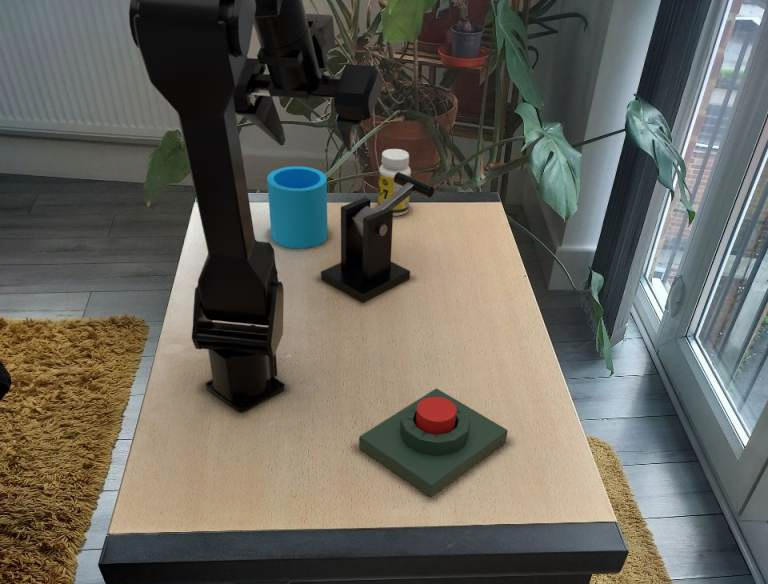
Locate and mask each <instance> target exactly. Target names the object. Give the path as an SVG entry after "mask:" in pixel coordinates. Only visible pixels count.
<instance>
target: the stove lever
mask: <svg viewBox="0 0 768 584" xmlns="http://www.w3.org/2000/svg"><path fill="white" fill-rule="evenodd" d="M394 182H395V183H396V184H399V185H401V186H403V187H401V188H400V189H399V190H398V191H396V192H395V193H394V194H392V195H391V196H390V197H389V198H387V199H386V200H385V201H384V202H382V203H381V204H380V205H378V204H377V206H375V208H373V207H371V206H370V207H368V206H366V207H364V208H363V209H362V210H360V211H359V212H358V213H357V214H355V215H354V216H353V217H352V221H353V226H354V231H355V233H356V234H358V235H360V236H362V237H363V218H364V217H367V216H369V215H371V214H374V213H376V212H378V211H381V210H383V209H385V208H390V209H393V208H395V207H396V206H397V205H398V204H400V203H401V202H402V201H403V200H405V199H406V198H407V197H408V196H409V197H410V196H411V195H413V193H417V194H419V195H421V196H424V197H426V198H428V199H429V198H432V197H433V196H434V194H435V187H434V186H433V185H431V184H428V183H426V182H423V181H421V180H419V179H416V178H414V177H412V176H411V177H410V176H407V175H405V174H403V173H400V172H397V173H396V174H395V176H394Z"/></svg>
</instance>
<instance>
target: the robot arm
mask: <svg viewBox="0 0 768 584" xmlns="http://www.w3.org/2000/svg"><path fill="white" fill-rule="evenodd" d="M128 16H129V17H128V19H129V20H128V21H129V28H130V29H129V30H130V33H131V37H132V40H133V43H134V45H135V46H136V47H137V48H138V49H139V52H140V55H141V58H142V59H141V60H142V61H143V65H144V68H145V72H146V75H147V78H148V80H149V82H150V83H151V85H152V86H153V87H154V88H155V89H156V90H157V91H158V93H159V94H160V95H161V96H162V97H163V98H164V99H165V100H166V102H167V103H168V104H169V105H170V106H171V107H172V108H173V110H175V111H176V113H177V117H178V120H179V125H180V129H181V134H182V139H183V140H182V141H183V143H184V144H183V145H184V149H185V153H186V157H187V161H188V168H189V171H190V176H191V180H192V186H193V189H194V194H195V198H196V203H197V208H198V212H199V217H200V223H201V226H202V231H203V235H204V240H205V245H206V250H207V256H206V258H205V261H204V263H203V265H202V269H201V271H200V274H199V277H198V279H197V285H196V287H195V288H194V298H193V314H192V330H191V340H192V343H193V345H194V348H195V350H207V352H208V359H209V365H210V371H211V379H210V380H208V381H205V389H206V390H208V391H209V392H210V393H212V394H213V395H215V397H217V398H219V399H220V400H221V401H223V402H224V403H226V404H227V405H229V406H230V407H231V408H233V409H234V410H236V411H237V412H239V413H244V412H246V411H248V410H250V409H251V408H253V407H255V406H257V405H259V404H261V403H262V402H264V401H266V400H268V399H270V398H271V397H273V396H275V395H278V394H279V393H281V392H282V391H284V390H285V389H286V385H285V383H284V382H283V381H281V380H279V379H278V378H276V377H278V374H279V373H278V361H277V350H278V347H279V346H280V342H281V340H282V338H283V335H284V302H285V298H284V297H285V291H284V284H283V282H282V281H279V277H278V275H279V274H278V269H277V265H276V253H275V248H274V247H273V245H272V243H270V242H269V241H261V240H260V241H259V240H257V239H256V237H255V230H254V223H253V217H252V210H251V205H250V204H251V203H250V197H249V192H248V191H249V190H248V184H247V179H246V178H247V177H246V172H245V166H244V159H243V152H242V145H241V139H240V133H239V127H238V119H237V116H242V117H244V118H245V119H246V120H247V121H250V123H251V124H253V125H255V126H256V127H258V129H260V130H261V131H262V132H263V133H265V134H266V135H268V136H269V138H270V139H272V140H273V141H274V142H276V143H277V144H278V145H279V146H284V144H285V142H286V135H285V130H284V128H283V124H282V122H281V117H280V115H279V112H278V110H277V107H276V104H275V102H274V99H273V98H274V97H277V98H289V99H304V100H310V97H322V98H332V99H333V98H334V99H333V106H334V110H335V114H336V115H337V117H336V120H335V122H336V125H337V128H338V130H339V133H340V136H341V140H342V142H343V145H344V147H345V150H346V151H347V152H348V153H349V152H350V153H351V152H352V150H353V148H354V144H355V138H356V137H355V136H356V131H357V126H358V125H360V124H362V122H365V121H367V120H369V119H371V118H372V115H373V113H374V111H375V107H376V105H377V103H378V100H379V97H380V95H381V91H382V89H383V86H384V84H383V78H382V72H381V71H380V70H379V68H378V67H377V66H374V65H364V64H363V65H362V64H349V63H348V64H347V63H346V64H345V66H344V68H343V71H342V73H341V75H340V76H339V75H338V76H337V75H326V74H325V75H324V74H322V72H321V71H322V69H326V68H327V67H328V64H329V62H330V60H329V57H328V53H329V52H330V51H331V50H332V49H333V50H334V49H335V48H336V38H335V37H336V36H335V23H334V16H333V15H330V14H319V13H317V14H316V13H307V12H306V8H305V4H304V1H303V0H130V2H129V9H128ZM253 29H254V31H255V34H256V37H257V41H258V44H259V46H260V48H259V50H258V52H257V54H256V57H257V58H252V57H248V54H249V51H250V46H251V40H252V35H253ZM266 70H267V71H268V73H265V72H266Z"/></svg>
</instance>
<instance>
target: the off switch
mask: <svg viewBox="0 0 768 584" xmlns="http://www.w3.org/2000/svg"><path fill="white" fill-rule="evenodd" d="M429 397H441V398H445V399H448V400H450V401H451V402H452V403H453V404H454V405H455V406H456V409H457V413H456V421H455V426H454V428H453V429H452V430H451V431H450V432H448V433H444V434H438V435H436V434H430V433H425V432H424V431H422V430H421V429H419V428H418V426H417V424H416V413H417V405H418V404H419V402H420V401H422V400H423V399H426V398H429ZM508 431H509V429H507V428H505V427H503V426H502V425H500V424H498V423H496V422H495V421H493V420H492V419H490V418H488V417H487V416H485V415H483V414H481V413H480V412H478V411H476V410H475V409H473V408H471V407H469V406H468V405H466V404H464V403H463V402H461V401H459V400H457V399H456V398H454V397H452V396H451V395H449V394H447V393H446V392H443V391H442V390H440V389H438V388H435V389H433V390H431V391H430V392H428V393H426V394H425V395H422V397H420V398H418V399H417V400H415V401H414V402H412V403H410V404H409V405H407V406H406V407H404V408H403V409H401V410H399V411H398V412H396V413H394V414H393V415H391V416H390V417H388V418H386V419H385V420H383V421H382V422H379V423H378V424H377V425H376V426H374V427H372V428H371V429H369V430H367V431H366V432H364V433H363V434H361V435H359V437H358V449H359V450H360V451H361V452H364V454H366V455H368V456H369V457H370V458H372V459H374V460H375V461H376V462H377V463H379V464H381V465H382V466H384V467H385V468H386V469H388V470H389V471H391V472H393V473H394V474H395V475H397V476H399V477H400V478H401V479H403V480H404V481H406V483H409V484H410V485H412V486H413V487H415V488H416V489H418V490H419V491H420V492H422V493H423V494H425V495H426V496H428V497H430V498H431V497H433V496H435V495H436V494H437V493H438V492H440V491H442V490H443V489H445V487H447V486H448V485H449V484H451V483H452V482H453V481H455V480H456V479H458V478H459V477H461V476H462V475H463V474H465V473H466V472H467V471H469V470H470V469H471V468H473V467H474V466H475V465H477V464H478V463H479V462H481V461H482V460H483V459H485V458H487V456H489V455H490V454H492V453H493V452H495V451H496V450H497V449H498V448H500V447H502V446H503V445H504V444H505V443H506V442H507V436H508Z"/></svg>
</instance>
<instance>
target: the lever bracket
mask: <svg viewBox="0 0 768 584" xmlns="http://www.w3.org/2000/svg"><path fill="white" fill-rule="evenodd" d="M371 201H372V200H371V198H368V197H366V196H365V197H362V198H360V199H359V198H358V199H357V200H354V201H352V202H350V203H348V204H345V205H342V206H340V262H339V263H337V264H335V265H333V266H330V267H328V268H325V269H324V270H322V271H320V280H321V281H323V282H324V283H327V284H329V285H330V286H332V287H333V288H335V289H337V290H339V291H341V292H343V293H345V294H346V295H348V296H350V297H352V298H353V299H356V300H357V301H359V302H361V303H365V302H367V301H369V300H371V299H373V298H375V297H377V296H379V295H381V294H383V293H385V292H387V291H389V290H391V289H393V288H395V287H397V286H399V285H400V284H403V283H404V282H406V281H408V280H410V279H411V270H409V269H407V268H405V267H403V266H401V265H399V264H397V263H395V262H393V261H392V243H393V224H394V223H393V222H394V216H393V210H392V209H390V208H385V209H383V210H381V211H378V212H376V213H374V214H371V215H369V216H367V217H364V218H363V237H362V236H360V235H358V234H356V233H355V231H354V226H353V221H352V217H353V216H354V215H355V214H357V213H358V212H359V211H360V210H362V209H363V208H364V207H366V206H368V207H371V203H372V202H371Z"/></svg>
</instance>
